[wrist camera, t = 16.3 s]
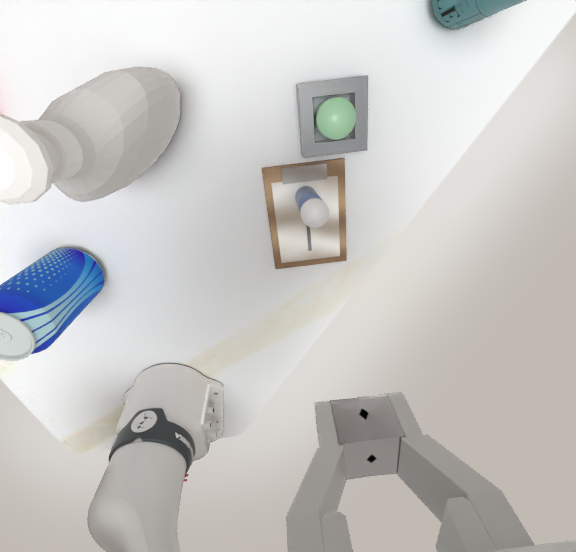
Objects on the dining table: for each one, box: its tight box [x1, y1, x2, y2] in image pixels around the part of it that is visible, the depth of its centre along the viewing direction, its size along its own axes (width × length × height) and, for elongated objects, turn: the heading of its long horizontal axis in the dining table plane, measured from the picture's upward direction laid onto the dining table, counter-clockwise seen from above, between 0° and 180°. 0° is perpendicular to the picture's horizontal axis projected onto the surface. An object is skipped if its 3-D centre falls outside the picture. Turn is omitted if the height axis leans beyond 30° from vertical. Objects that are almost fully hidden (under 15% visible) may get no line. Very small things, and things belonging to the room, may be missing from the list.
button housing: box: [296, 75, 368, 158], centre depth 39 cm, size 8×8×2 cm
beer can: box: [0, 248, 104, 361], centre depth 41 cm, size 8×8×16 cm
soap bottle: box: [0, 67, 181, 204], centre depth 28 cm, size 14×8×27 cm, turn 139°
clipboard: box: [262, 158, 346, 269], centre depth 45 cm, size 15×11×1 cm
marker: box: [295, 186, 329, 228], centre depth 39 cm, size 3×3×10 cm
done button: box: [314, 97, 356, 140], centre depth 38 cm, size 4×4×4 cm
